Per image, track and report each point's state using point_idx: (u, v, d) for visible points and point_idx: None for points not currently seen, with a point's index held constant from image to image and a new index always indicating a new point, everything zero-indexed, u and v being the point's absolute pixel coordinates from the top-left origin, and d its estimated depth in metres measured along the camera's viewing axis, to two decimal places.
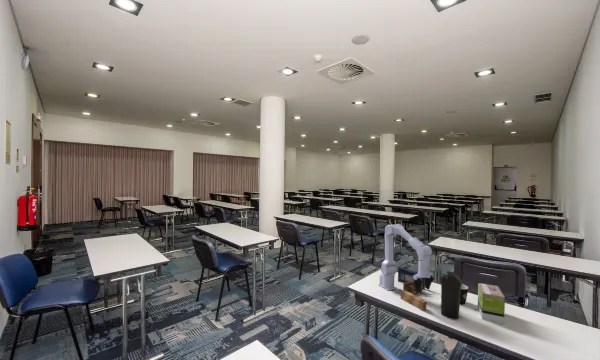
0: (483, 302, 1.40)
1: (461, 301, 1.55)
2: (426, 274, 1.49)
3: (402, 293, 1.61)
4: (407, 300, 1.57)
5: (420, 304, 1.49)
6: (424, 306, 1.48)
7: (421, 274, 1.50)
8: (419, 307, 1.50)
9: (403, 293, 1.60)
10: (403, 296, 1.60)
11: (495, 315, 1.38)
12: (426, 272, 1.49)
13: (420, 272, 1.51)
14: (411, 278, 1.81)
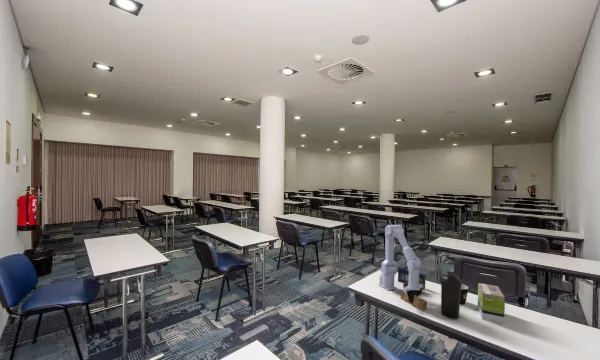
0: (483, 302, 1.40)
1: (461, 301, 1.55)
2: (416, 286, 1.52)
3: (402, 293, 1.61)
4: (407, 300, 1.57)
5: (420, 304, 1.49)
6: (424, 306, 1.48)
7: (411, 286, 1.53)
8: (419, 307, 1.50)
9: (403, 293, 1.60)
10: (403, 296, 1.60)
11: (495, 315, 1.38)
12: (416, 284, 1.52)
13: (410, 284, 1.54)
14: None
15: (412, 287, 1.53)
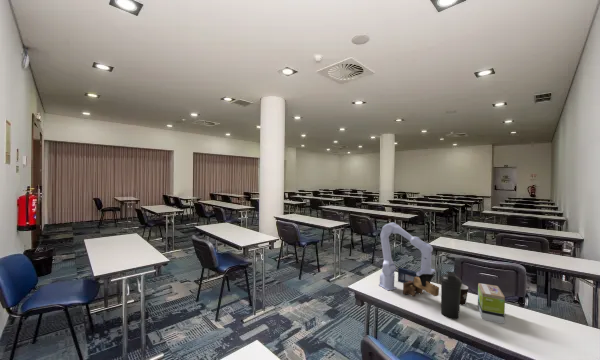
0: (483, 302, 1.40)
1: (461, 301, 1.55)
2: (428, 271, 1.59)
3: (415, 279, 1.67)
4: (419, 286, 1.64)
5: (433, 290, 1.56)
6: (437, 292, 1.55)
7: (424, 271, 1.60)
8: (432, 293, 1.56)
9: (416, 279, 1.67)
10: (416, 282, 1.67)
11: (495, 315, 1.38)
12: (428, 269, 1.59)
13: (423, 269, 1.60)
14: (411, 278, 1.81)
15: (425, 271, 1.59)
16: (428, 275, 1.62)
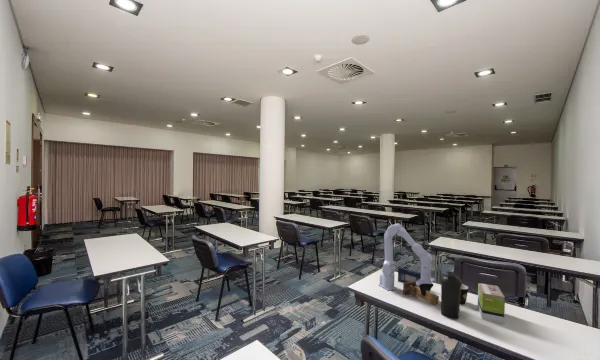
0: (483, 302, 1.40)
1: (461, 301, 1.55)
2: (428, 280, 1.59)
3: None
4: (419, 295, 1.64)
5: (432, 299, 1.56)
6: (436, 300, 1.55)
7: (423, 280, 1.60)
8: (431, 301, 1.56)
9: (415, 288, 1.67)
10: (415, 291, 1.67)
11: (495, 315, 1.38)
12: (428, 278, 1.59)
13: (422, 278, 1.61)
14: (411, 278, 1.81)
15: (424, 281, 1.60)
16: (428, 284, 1.62)
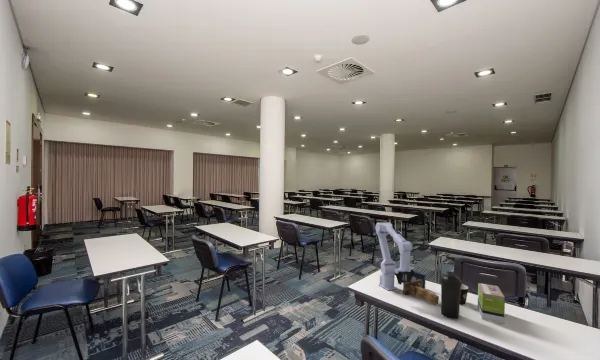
0: (483, 302, 1.40)
1: (461, 301, 1.55)
2: (407, 268, 1.58)
3: None
4: (419, 295, 1.64)
5: (432, 299, 1.56)
6: (436, 300, 1.55)
7: (402, 268, 1.59)
8: (431, 301, 1.56)
9: (415, 288, 1.67)
10: (415, 291, 1.67)
11: (495, 315, 1.38)
12: (407, 266, 1.58)
13: (401, 266, 1.60)
14: None
15: (403, 269, 1.59)
16: (409, 272, 1.62)
